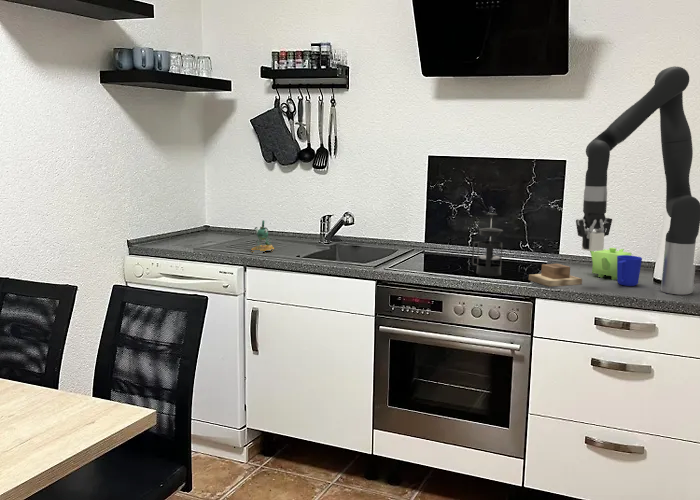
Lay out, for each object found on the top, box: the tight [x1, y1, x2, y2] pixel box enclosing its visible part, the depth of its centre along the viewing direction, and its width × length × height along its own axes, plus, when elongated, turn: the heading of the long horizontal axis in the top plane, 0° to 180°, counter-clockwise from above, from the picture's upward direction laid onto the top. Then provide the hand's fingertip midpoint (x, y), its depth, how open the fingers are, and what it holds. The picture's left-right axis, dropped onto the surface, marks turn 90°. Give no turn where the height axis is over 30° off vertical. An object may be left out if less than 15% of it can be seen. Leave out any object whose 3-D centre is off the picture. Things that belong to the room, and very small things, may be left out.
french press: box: [471, 212, 504, 277], centre depth 263 cm, size 12×9×23 cm
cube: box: [581, 230, 605, 252], centre depth 240 cm, size 5×5×6 cm
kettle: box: [589, 247, 632, 281], centre depth 261 cm, size 15×14×11 cm
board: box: [528, 273, 583, 288], centre depth 250 cm, size 14×12×2 cm
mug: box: [616, 255, 643, 287], centre depth 246 cm, size 8×12×10 cm
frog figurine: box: [251, 220, 275, 251], centre depth 305 cm, size 10×18×15 cm, turn 157°
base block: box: [540, 263, 571, 279], centre depth 250 cm, size 7×7×4 cm
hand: (592, 248), depth 240 cm, fingers closed on cube, 5 cm apart
